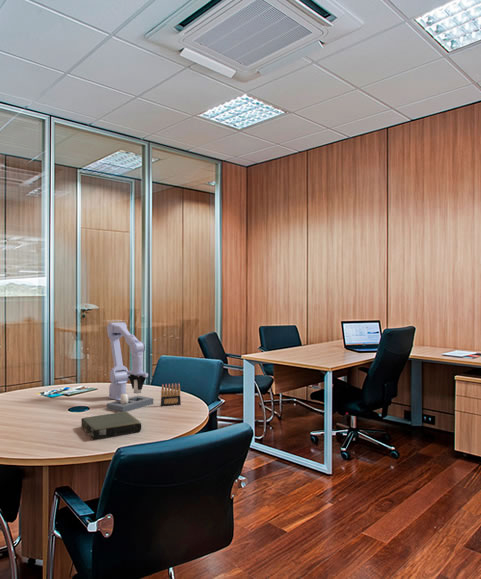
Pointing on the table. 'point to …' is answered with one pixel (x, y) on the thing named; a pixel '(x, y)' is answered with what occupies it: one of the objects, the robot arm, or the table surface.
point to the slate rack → (129, 403)
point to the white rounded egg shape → (136, 387)
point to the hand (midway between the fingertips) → (137, 389)
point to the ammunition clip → (170, 395)
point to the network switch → (110, 425)
